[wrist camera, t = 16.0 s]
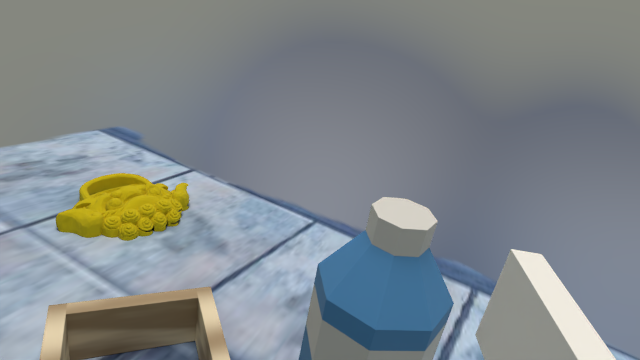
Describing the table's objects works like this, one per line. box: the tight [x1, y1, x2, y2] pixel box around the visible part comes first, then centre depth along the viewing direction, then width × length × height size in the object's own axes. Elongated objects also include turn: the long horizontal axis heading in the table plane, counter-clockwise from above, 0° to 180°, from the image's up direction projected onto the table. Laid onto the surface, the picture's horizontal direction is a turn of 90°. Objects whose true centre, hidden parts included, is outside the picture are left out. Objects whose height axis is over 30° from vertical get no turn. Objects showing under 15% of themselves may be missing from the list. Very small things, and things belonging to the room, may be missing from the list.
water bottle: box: [299, 197, 454, 360], centre depth 33 cm, size 9×9×25 cm
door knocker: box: [56, 173, 190, 241], centre depth 69 cm, size 17×16×4 cm
